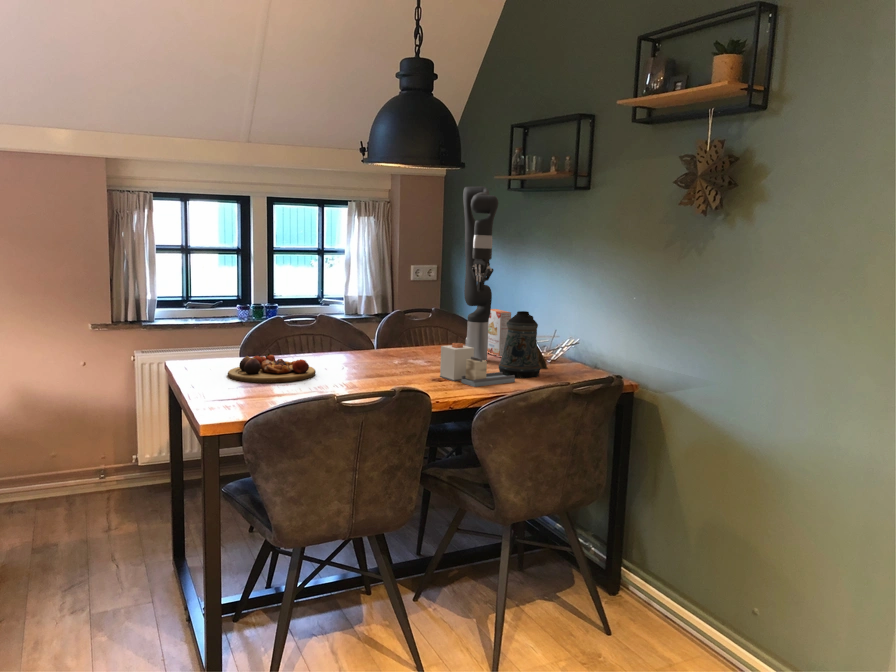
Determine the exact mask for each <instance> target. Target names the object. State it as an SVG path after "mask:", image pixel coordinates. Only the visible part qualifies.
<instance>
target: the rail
mask: <svg viewBox="0 0 896 672" xmlns="http://www.w3.org/2000/svg"><path fill="white" fill-rule="evenodd" d="M460 382H461V384H464V385H467V386H471V387H474V388H476V387H483V386H484V387H485V386H493V385H502V384H509V383H510V384H511V383H515V382H516V378H515V375H511V376H505V375H503V372H500V371H498V372H497V371H496V372H489V373H487V372H486V378H484V379H475V380H474V381H473V380H470V379H466V376H462V380H461V381H460Z"/></svg>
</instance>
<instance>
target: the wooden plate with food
mask: <svg viewBox="0 0 896 672" xmlns="http://www.w3.org/2000/svg"><path fill="white" fill-rule="evenodd" d="M315 375H316V369H315V368H314V367H312V366H310V365H309V363H308V362H307V361H306V360H305V359H297V360H292V361H288V360H287V361H286V360H284V359H283V358H278V359H276V357H275V355H274V354H270V353H267V354H265V356H264V355H260V354H259V355H254V356H253V357H250V356H248V355H246V356H245V357H243V358H241V360H240V362H239V366H237V367H233V368H231V369H229V370H228V371H227V376H228V378H230V379H232V380H234V381H238V382H246V383H260V384H262V383H263V384H265V383H268V384H269V383H270V384H271V383H288V382H297V381H304V380H306V379H309V378H312V377H314V376H315Z"/></svg>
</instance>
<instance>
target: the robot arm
mask: <svg viewBox="0 0 896 672" xmlns="http://www.w3.org/2000/svg"><path fill="white" fill-rule="evenodd" d="M462 192H463V194H462V199H463V200H462V201H463V203H462V204H463V214H464V253H465V255H464V256H465V257H464V258H465V275H464V278H465V279H464V300H465V301H464V302H465V303H466V305H467V306H469V307H476V309H475V310H474V311H473V312H471V313H468V315H467V323H466V324H467V325H466V327H467V330H466V338H465V346H468V347H472V348H474V357H475V358H479V359H482V360H484V361H485V360H487V361H488V354H487V351H488V325H489V317H490V312H491V309H492V299H493V297H492V296H493V293H492V289H491V287H490V286H489V285H488V284H486V282H487V281H489V280H490V278H491V277H492V274H493V273H494V268H492V267H491V263H490V260H492V257H493V227H494V221H495V217H496V213H497V210H498V207H499V200H498V197H497V196H496V195H491V194H490V191H489V189H488V187H486V186H483V185H482V186H481V185H479V186H465V187H464V188H463V191H462ZM473 213H474V214H487V217H485V218H481V219H476V220H475V217H474V215H473Z"/></svg>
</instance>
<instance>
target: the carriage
mask: <svg viewBox="0 0 896 672" xmlns="http://www.w3.org/2000/svg"><path fill="white" fill-rule="evenodd" d="M487 366H488V360H487V361H484V360H482V359H479V358H475V357H471V359H467V360H466V379H470V380H473V381H474V380H475V379H484V378H486V374H487V369H488V368H487Z"/></svg>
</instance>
